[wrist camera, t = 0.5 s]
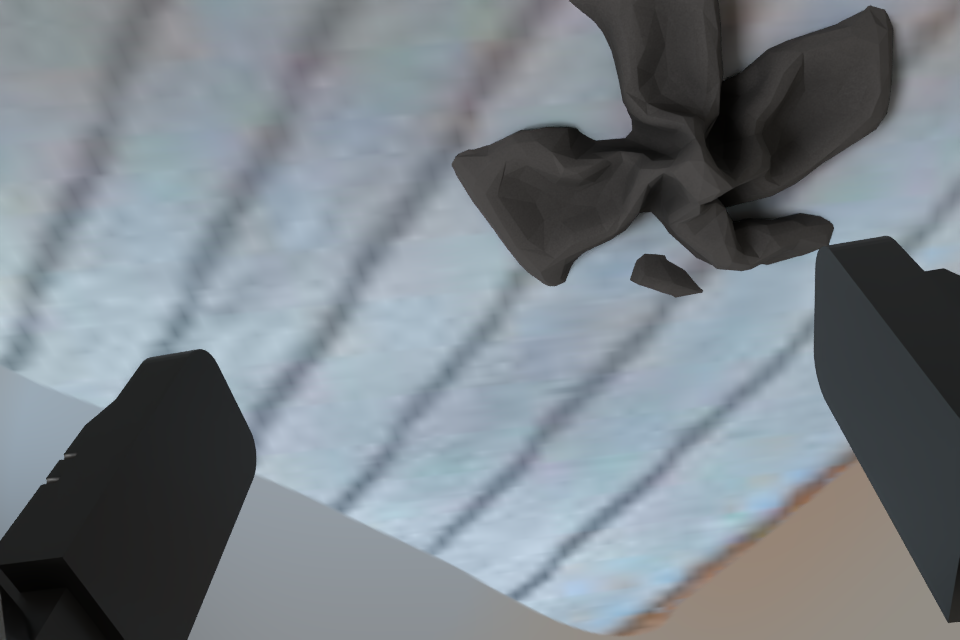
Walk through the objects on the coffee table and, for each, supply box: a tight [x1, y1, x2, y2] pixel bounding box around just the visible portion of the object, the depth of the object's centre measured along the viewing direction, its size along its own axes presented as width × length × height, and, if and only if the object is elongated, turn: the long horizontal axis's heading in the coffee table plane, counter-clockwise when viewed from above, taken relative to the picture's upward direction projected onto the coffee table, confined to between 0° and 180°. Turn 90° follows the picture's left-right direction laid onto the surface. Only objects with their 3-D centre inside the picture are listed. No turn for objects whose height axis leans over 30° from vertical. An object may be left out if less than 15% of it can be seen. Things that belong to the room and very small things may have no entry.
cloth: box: [452, 0, 893, 297], centre depth 34 cm, size 22×19×6 cm
